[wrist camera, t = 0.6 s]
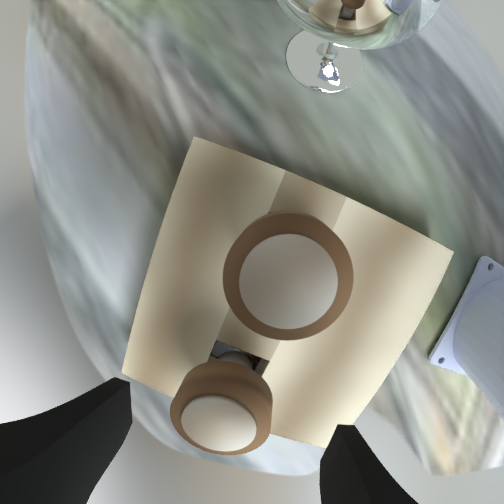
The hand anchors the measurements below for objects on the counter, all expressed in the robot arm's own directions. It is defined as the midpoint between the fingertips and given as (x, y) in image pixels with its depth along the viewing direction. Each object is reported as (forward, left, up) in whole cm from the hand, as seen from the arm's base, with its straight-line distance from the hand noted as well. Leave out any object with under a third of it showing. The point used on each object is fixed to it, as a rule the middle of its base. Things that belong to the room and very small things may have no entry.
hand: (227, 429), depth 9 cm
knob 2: (0, -5, -7) cm, 9 cm away
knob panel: (-1, -1, -9) cm, 10 cm away
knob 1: (0, +2, -7) cm, 7 cm away
